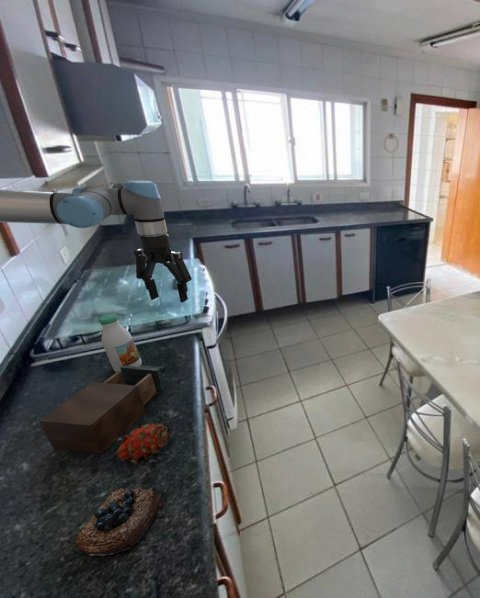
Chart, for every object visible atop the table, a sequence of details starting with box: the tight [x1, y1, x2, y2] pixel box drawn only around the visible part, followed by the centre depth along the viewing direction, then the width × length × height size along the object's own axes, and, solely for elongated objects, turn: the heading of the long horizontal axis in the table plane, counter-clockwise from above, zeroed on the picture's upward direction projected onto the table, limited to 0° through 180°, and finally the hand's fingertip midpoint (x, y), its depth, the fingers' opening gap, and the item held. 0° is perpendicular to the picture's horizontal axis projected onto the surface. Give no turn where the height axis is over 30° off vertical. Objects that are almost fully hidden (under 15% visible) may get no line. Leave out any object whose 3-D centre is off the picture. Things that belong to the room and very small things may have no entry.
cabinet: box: [39, 381, 146, 454], centre depth 87 cm, size 15×13×10 cm
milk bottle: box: [98, 313, 143, 373], centre depth 109 cm, size 8×8×20 cm
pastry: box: [75, 487, 163, 555], centre depth 67 cm, size 11×12×6 cm
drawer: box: [102, 365, 166, 406], centre depth 98 cm, size 18×11×8 cm, turn 177°
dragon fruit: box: [112, 423, 172, 465], centre depth 82 cm, size 8×8×12 cm
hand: (169, 299), depth 110 cm, fingers open, 9 cm apart
